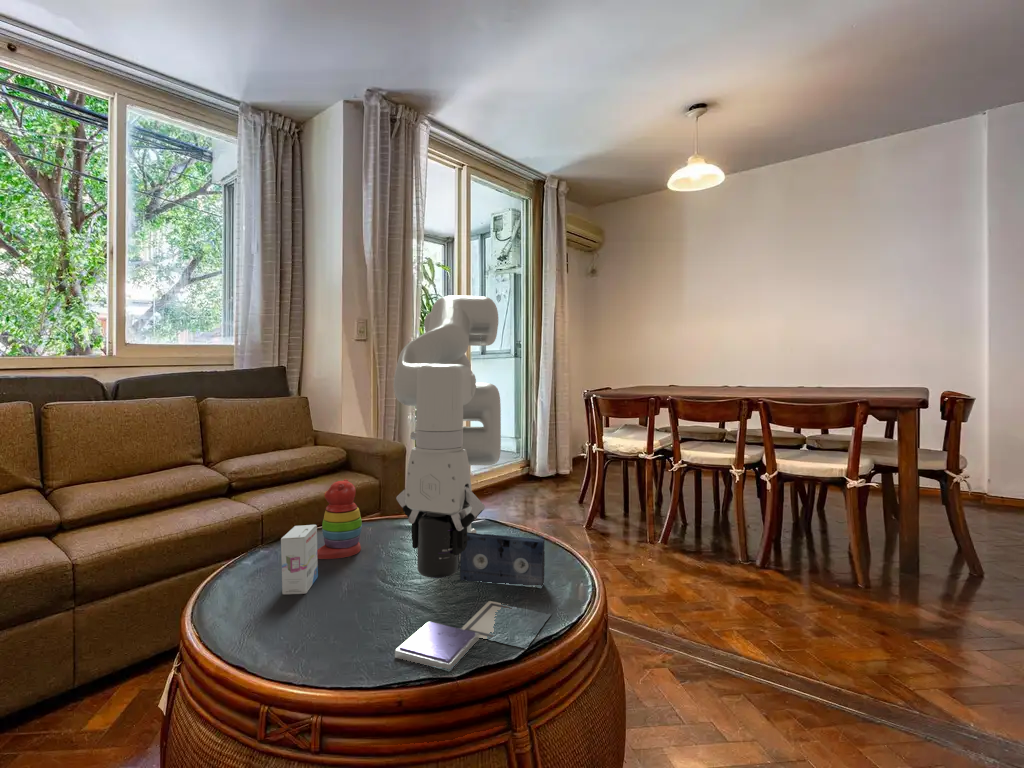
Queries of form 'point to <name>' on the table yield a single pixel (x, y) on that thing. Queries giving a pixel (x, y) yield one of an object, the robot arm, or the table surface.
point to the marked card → (484, 620)
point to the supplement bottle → (436, 546)
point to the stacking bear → (340, 522)
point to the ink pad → (437, 645)
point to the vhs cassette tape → (503, 559)
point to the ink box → (299, 559)
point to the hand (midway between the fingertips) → (438, 548)
